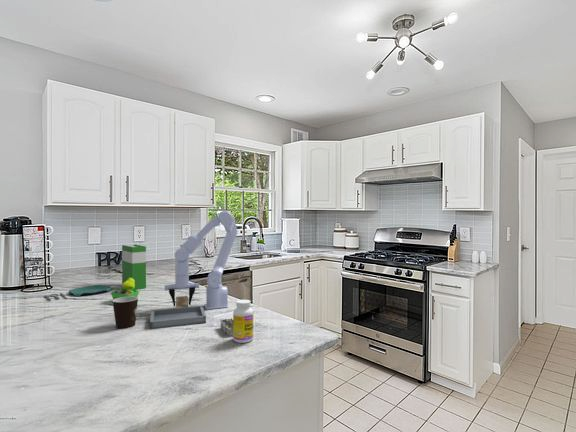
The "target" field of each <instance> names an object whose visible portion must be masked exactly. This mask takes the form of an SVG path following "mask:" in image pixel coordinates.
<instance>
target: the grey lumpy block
mask: <svg viewBox="0 0 576 432" xmlns="http://www.w3.org/2000/svg"><path fill="white" fill-rule="evenodd" d="M219 322H220V330H221V331H222V330H223V333H226V336H227V337H228V336H230V337H233V317H232V318H224V319H223V318H219Z"/></svg>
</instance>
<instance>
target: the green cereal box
mask: <svg viewBox="0 0 576 432" xmlns="http://www.w3.org/2000/svg"><path fill="white" fill-rule="evenodd" d="M121 247H122V248H121V269H122V270H121V273H122V274H121V277H122V280H121V283H122V284H123V283H124V282H125V281H127V279H128V278H133V279H134V280H135V283H134V284H135V287H134V289H133V290H137V291H139V290H145V288H146V289H147V246H144V245H141V244H133V245H123V244H122V245H121ZM122 284H121V285H122ZM138 289H139V290H138Z"/></svg>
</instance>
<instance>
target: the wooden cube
mask: <svg viewBox="0 0 576 432" xmlns="http://www.w3.org/2000/svg"><path fill="white" fill-rule="evenodd" d="M182 307H189V295H180V296H175V308H182Z"/></svg>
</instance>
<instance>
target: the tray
mask: <svg viewBox="0 0 576 432" xmlns="http://www.w3.org/2000/svg"><path fill="white" fill-rule="evenodd" d="M206 323H207V316H206V313H205V309H204V307H203V305H195V306H193V305H192V306H188V307H182V308H176V307H173V308H162V309H152V310H151V314H150V319H149V329H150V330H153V329H160V328H161V329H162V328H171V327H181V326H188V325H190V326H191V325H198V324H206Z"/></svg>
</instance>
